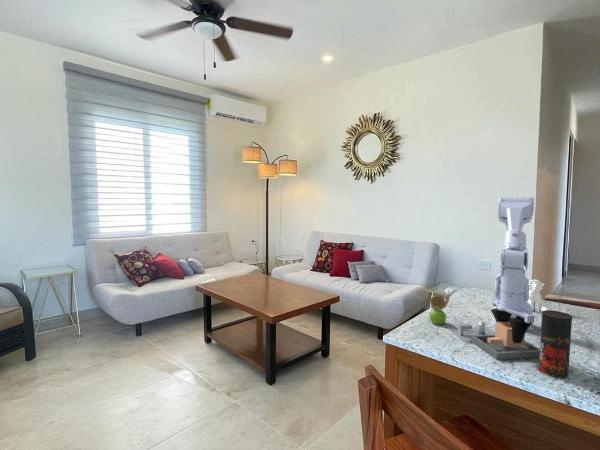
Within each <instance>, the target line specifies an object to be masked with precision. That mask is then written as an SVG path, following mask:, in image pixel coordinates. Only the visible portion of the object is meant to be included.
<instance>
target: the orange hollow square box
mask: <svg viewBox="0 0 600 450" xmlns="http://www.w3.org/2000/svg"><path fill="white" fill-rule="evenodd" d="M494 322H495V321H494ZM494 332H495V337H491V338H487V342H488V343H490V344H499V343H502V344H503V345H505V346H524V342H525V341H526V338H525V337H526V334H525V335H524V337H523V340H522V343H514V342H513V339H512V327H511V323H510V322H495V323H494Z"/></svg>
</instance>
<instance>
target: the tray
mask: <svg viewBox="0 0 600 450" xmlns="http://www.w3.org/2000/svg"><path fill="white" fill-rule="evenodd" d="M491 337H495V335H473V336H471V340H470V342H471V343H472V344H473V345H475V346H477V348H479V349H481V350H482V351H484V352H485V353H486V354H488V355H489V357H492V358H493V359H494V360H496V361H501V360H502V361H503V360H504V361H505V360H522V359H527V360H528V359H539V357H540V347H538V346H536V345H535V344H532V343H530V342H529V341H527V340H525V342H524V346H505V345H503V344H502V343H499V344H490V343H488V342H487V338H491Z"/></svg>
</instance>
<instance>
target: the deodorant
mask: <svg viewBox="0 0 600 450" xmlns="http://www.w3.org/2000/svg"><path fill="white" fill-rule="evenodd" d="M572 324H573V316H572V315H571V314H569V313H567V312H562V311H557V310H552V309H548V310H545V311H542V313H541V325H540V328H541V329H540V342H539V344H540V345H539V348H540V357H539V358H538V359H539V360H538V361H539V362H538V371H540V372H541V373H542V374H543V375H546V376H549V377H551V378H555V379H567V378H568V377H569V369H570V367H569V366H570V353H571V337H572V326H573V325H572Z"/></svg>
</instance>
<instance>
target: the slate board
mask: <svg viewBox="0 0 600 450" xmlns="http://www.w3.org/2000/svg"><path fill="white" fill-rule="evenodd" d="M447 330H448V331H449V332H450V333H452V334H453V335H455V336H456V337H457V338H458V339H459V340H461V341H463V342H465V341H466V342H467V341H471V336H473V335H482V334H479V333H478V332H479V327H472V329H463V335H462V336H460V335H459V334H458V333H457V330H458V328H447ZM484 335H495V330H492V329H491V328H489V327H486V326H485V334H484Z"/></svg>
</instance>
